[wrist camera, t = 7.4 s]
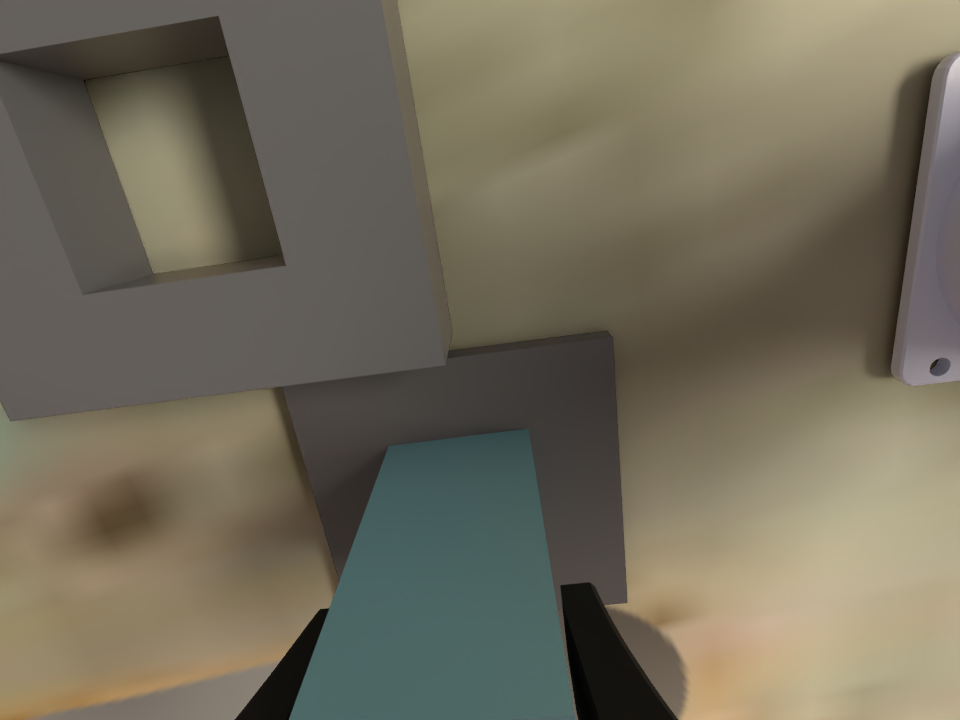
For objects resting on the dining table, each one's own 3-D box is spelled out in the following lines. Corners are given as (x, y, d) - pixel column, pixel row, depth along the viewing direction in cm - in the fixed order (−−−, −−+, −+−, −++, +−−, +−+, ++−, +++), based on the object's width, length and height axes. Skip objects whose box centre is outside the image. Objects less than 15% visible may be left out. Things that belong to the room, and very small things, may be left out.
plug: (528, 428, 14) (574, 713, 7) (543, 543, 16) (595, 889, 8) (388, 445, 14) (281, 739, 7) (415, 557, 16) (349, 905, 8)
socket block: (376, -124, 11) (344, -210, 8) (452, 333, 14) (445, 365, 12) (-95, -35, 11) (-250, -91, 9) (87, 381, 15) (10, 421, 12)
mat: (607, 330, 14) (612, 337, 13) (622, 588, 17) (627, 602, 16) (288, 372, 14) (279, 380, 14) (358, 614, 17) (353, 629, 17)
